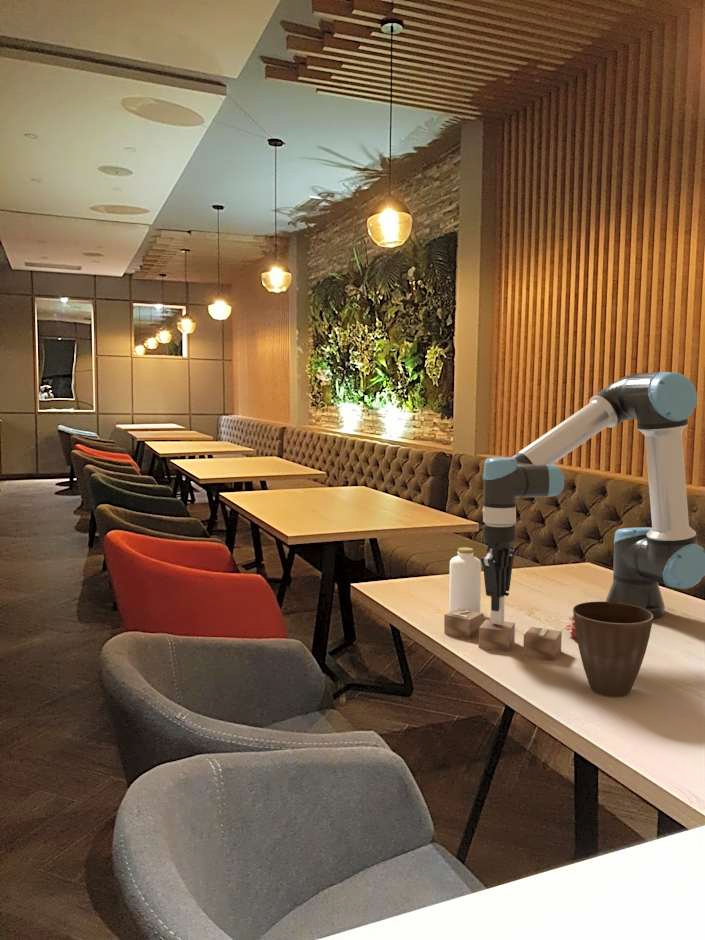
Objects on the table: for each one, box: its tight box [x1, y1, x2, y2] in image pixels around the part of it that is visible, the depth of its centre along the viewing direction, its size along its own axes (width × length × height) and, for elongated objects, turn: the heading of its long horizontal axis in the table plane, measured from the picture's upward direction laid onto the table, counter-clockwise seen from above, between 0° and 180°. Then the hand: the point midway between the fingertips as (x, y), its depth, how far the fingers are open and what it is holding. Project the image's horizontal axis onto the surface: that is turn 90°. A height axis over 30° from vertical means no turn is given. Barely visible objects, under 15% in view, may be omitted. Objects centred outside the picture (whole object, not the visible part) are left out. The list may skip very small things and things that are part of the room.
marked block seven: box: [443, 608, 484, 640], centre depth 183 cm, size 7×7×5 cm
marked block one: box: [522, 626, 563, 662], centre depth 167 cm, size 7×7×5 cm
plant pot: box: [572, 601, 654, 698], centre depth 146 cm, size 15×15×16 cm
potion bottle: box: [448, 546, 482, 613], centre depth 197 cm, size 8×8×18 cm
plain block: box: [478, 619, 516, 652], centre depth 174 cm, size 7×7×5 cm
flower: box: [564, 614, 577, 639], centre depth 178 cm, size 10×9×8 cm
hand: (497, 623), depth 173 cm, fingers closed
